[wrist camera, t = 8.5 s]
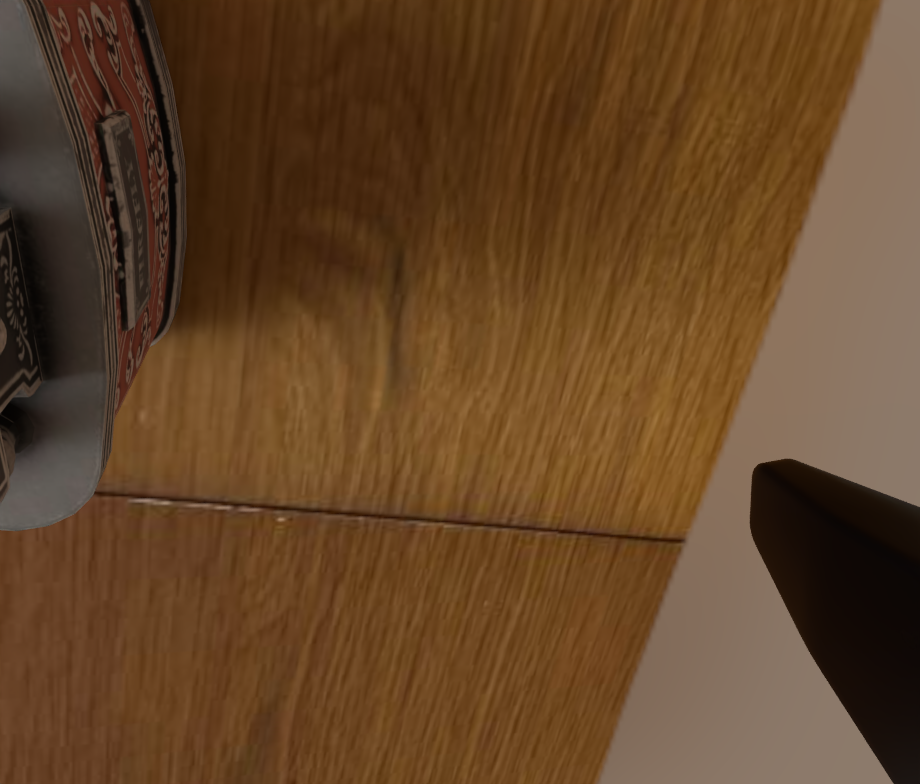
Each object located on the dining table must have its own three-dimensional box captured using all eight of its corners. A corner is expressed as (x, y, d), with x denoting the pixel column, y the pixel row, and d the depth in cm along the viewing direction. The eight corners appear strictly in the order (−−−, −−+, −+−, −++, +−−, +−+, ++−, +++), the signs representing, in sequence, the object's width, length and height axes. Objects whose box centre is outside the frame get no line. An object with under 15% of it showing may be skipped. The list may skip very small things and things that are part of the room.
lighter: (201, 340, 19) (95, 645, 10) (46, 341, 18) (-211, 664, 10) (166, -51, 15) (-44, -113, 7) (-26, -64, 15) (-536, -151, 6)
